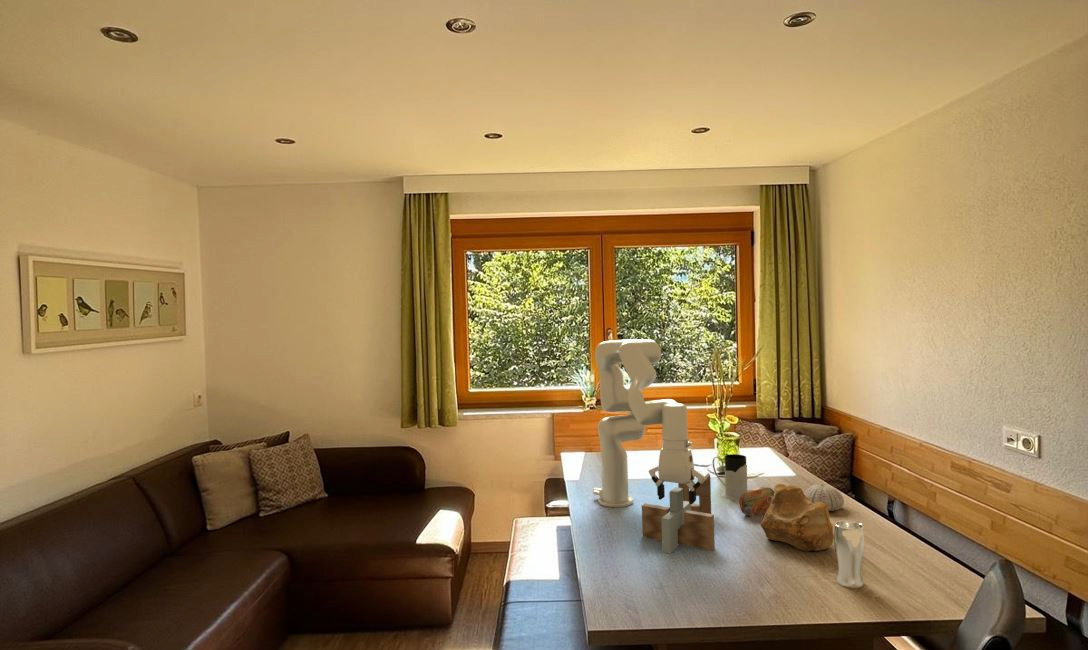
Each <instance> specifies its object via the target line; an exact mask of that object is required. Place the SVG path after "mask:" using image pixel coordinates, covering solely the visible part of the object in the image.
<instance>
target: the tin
mask: <svg viewBox="0 0 1088 650" xmlns="http://www.w3.org/2000/svg"><path fill="white" fill-rule="evenodd" d="M773 496H774V490H773V489H772V488H771V487H766V486H760V487H756V488H752V489H747V491H745V492H743V494H742V495H741V497H740V501H739V509H740V511H741V512H742V513H743V514H744V515H747V516H749V517H755V516H759V515H763V514H765V513H766V511H767V510H768V508H769V506H770V503H771V501H772V499H773Z"/></svg>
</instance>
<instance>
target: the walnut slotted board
mask: <svg viewBox="0 0 1088 650" xmlns="http://www.w3.org/2000/svg"><path fill="white" fill-rule="evenodd" d="M669 512H670V506H664V505H657V504H652V503H651V504H650V503H643V504H642V505H641V522H642V523H641V528H642V532H641V533H642V538H644V539H650V540H655V541H658V542H662V517H664V516H665V515H666V514H667V513H669ZM715 543H716V541H715V514H713V513H711V514H709V513H702V512H696V511H690V510H686V511H685V512H684V526H681V527H680V528H679V529H678V545H679V546H680V545H681V546H686V547H690V548H695V549H701V550H707V551H713V550H714V549H715V548H716V547H715Z"/></svg>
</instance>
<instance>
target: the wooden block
mask: <svg viewBox="0 0 1088 650" xmlns="http://www.w3.org/2000/svg"><path fill="white" fill-rule="evenodd" d="M704 477H705V478H704V480H703V482H702V484H701V485H700V486H699V487H698V488H697V489H696V497H698V503H699V504H698V503H695V502H694V503H693V504H691V511H696V512H702V513H709V514H712V493H711V491H712V490H711V489H712V485H711V474H710V473H709V472H707V474H706V475H705V476H704ZM677 486H678V487H677V488H683V501H687V502H689V491H690V488H689V487H688V486H687V484H680V483H677Z"/></svg>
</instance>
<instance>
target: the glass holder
mask: <svg viewBox="0 0 1088 650" xmlns="http://www.w3.org/2000/svg"><path fill="white" fill-rule="evenodd" d="M717 458H718V459H719V460H720V462H721V467H722V469H723V470H724V481H723V480H722V479H721V477H720V476H719V475H718V473H717V471H716V467H715V459H717ZM724 463H725V464H724ZM724 465H725V466H724ZM712 469H713V471H714V474H715V476H716V478H717V479H718V480H719V481H720V483H721V484H722V485H723V486H724V487H725V489H724V490H725V493H724V497H723V498H725V499H727V500H729V501H739V502H740V497H741V495H742V494H743V492H745V491H747V490H748V465H747V456H745V455H743V454H735V453H734V454H731V453H730V454H726V455H725V456H724V460H723V459H722V457H720V456H714V457H713V459H712Z"/></svg>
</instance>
